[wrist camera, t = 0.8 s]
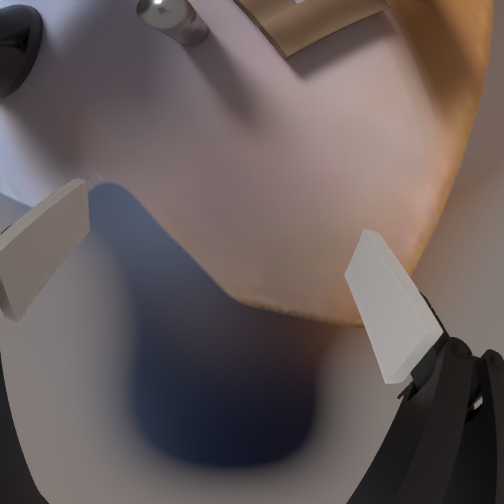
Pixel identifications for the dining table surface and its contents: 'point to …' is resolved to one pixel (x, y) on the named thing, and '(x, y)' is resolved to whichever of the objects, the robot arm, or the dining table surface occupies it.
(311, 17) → the socket block
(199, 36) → the peg
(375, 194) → the dining table surface
